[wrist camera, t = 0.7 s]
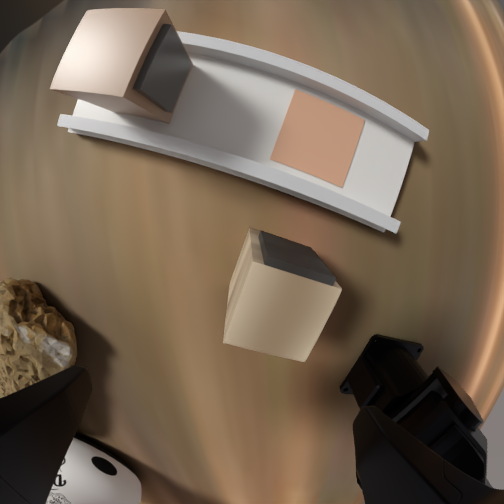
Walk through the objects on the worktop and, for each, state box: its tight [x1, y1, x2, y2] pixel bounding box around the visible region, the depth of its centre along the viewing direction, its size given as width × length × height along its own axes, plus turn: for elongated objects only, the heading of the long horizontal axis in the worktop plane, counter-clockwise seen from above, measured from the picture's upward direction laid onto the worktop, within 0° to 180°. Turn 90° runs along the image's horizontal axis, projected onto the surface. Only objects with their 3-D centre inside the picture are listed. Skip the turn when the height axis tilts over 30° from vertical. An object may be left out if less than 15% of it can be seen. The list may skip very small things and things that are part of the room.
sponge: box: [0, 278, 77, 397], centre depth 18 cm, size 13×8×20 cm
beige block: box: [223, 227, 342, 362], centre depth 15 cm, size 4×5×7 cm
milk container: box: [46, 436, 141, 504], centre depth 18 cm, size 17×17×18 cm
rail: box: [50, 8, 429, 233], centre depth 12 cm, size 23×8×8 cm, turn 71°
